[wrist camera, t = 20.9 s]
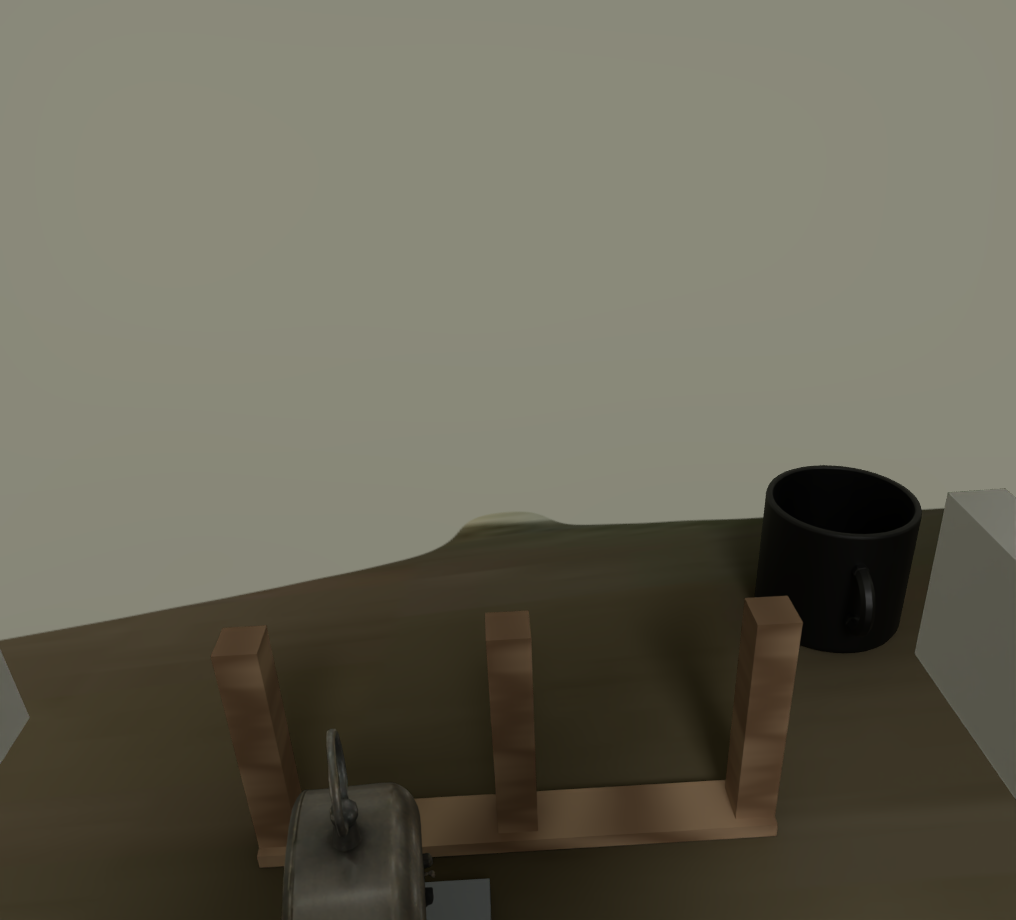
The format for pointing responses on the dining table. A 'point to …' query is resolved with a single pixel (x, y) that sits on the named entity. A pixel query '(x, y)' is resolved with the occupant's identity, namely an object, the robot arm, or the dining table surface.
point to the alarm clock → (355, 851)
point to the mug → (839, 553)
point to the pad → (460, 900)
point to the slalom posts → (517, 804)
